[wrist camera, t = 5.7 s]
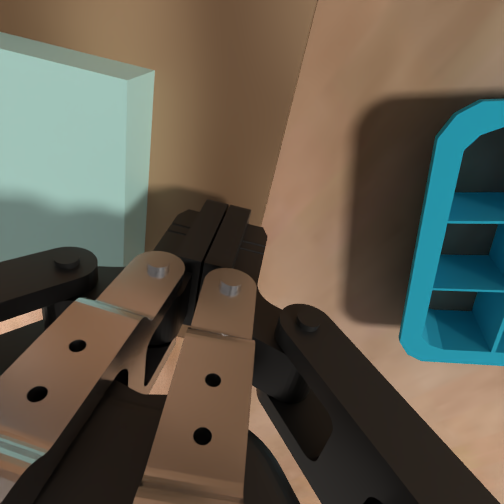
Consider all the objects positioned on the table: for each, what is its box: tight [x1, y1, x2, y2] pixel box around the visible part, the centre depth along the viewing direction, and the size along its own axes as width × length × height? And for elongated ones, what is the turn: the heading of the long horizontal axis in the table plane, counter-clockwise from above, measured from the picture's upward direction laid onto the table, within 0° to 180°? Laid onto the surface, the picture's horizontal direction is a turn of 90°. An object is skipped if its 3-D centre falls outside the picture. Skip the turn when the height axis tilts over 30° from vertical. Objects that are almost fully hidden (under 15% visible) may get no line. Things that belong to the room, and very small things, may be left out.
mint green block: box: [0, 32, 155, 267], centre depth 13 cm, size 6×8×2 cm
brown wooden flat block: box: [0, 0, 318, 338], centre depth 15 cm, size 16×14×4 cm
